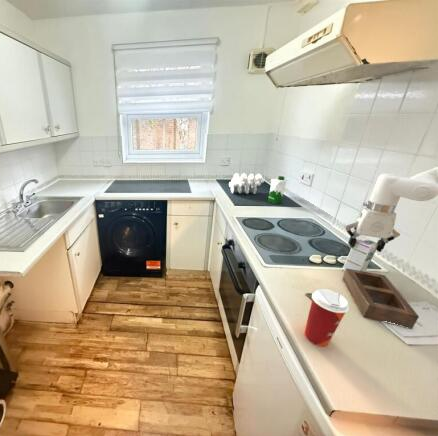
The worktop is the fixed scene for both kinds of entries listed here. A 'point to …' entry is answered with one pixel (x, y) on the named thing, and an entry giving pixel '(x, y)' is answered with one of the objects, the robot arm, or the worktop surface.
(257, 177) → the white lumpy cluster
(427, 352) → the worktop surface
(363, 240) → the syrup box
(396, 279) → the worktop surface
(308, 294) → the meat cleaver
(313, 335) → the coffee cup
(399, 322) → the holder
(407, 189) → the robot arm
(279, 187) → the milk carton
